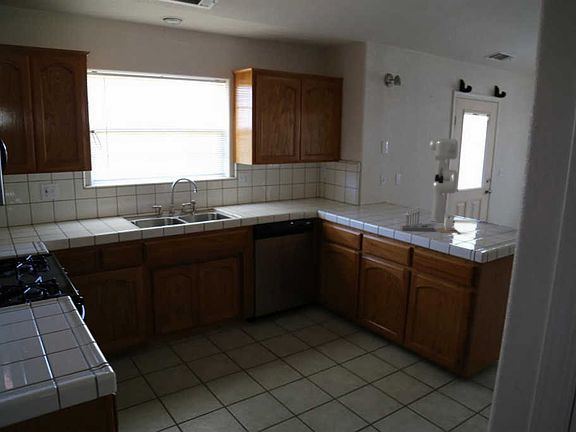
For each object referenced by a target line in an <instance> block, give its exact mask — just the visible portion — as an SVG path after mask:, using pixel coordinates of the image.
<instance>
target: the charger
mask: <svg viewBox="0 0 576 432" xmlns="http://www.w3.org/2000/svg"><path fill="white" fill-rule="evenodd" d="M453 221H454V220H453V217H450V215H448V216H447V217H444V222H443V228H445V230H446V231H451V228H453Z"/></svg>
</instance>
